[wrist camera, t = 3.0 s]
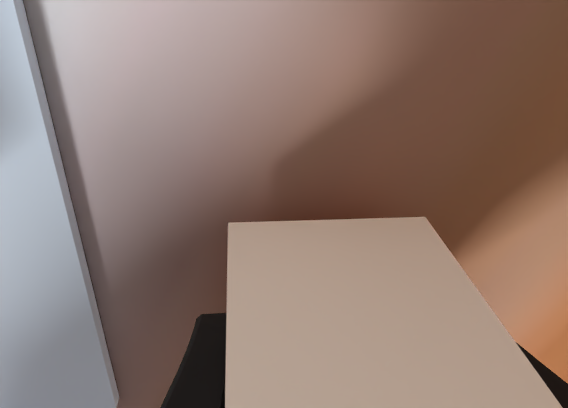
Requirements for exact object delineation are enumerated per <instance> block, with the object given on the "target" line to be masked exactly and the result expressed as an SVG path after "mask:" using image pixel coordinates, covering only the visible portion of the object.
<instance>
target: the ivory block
mask: <svg viewBox="0 0 568 408" xmlns="http://www.w3.org/2000/svg"><path fill="white" fill-rule="evenodd" d="M225 408H563V407H562V406H561V405H560V403H559V402H558V401H557V399H556V398H555V396H554V395H553V394H552V392H551V391H550V389H549V388H548V387H547V385H546V384H545V382H544V381H543V380H542V378H541V377H540V376H539V374H538V373H537V371H536V370H535V369H534V367H533V366H532V364H531V363H530V362H529V360H528V359H527V357H526V356H525V355H524V353H523V352H522V351H521V349H520V348H519V346H518V345H517V344H516V342H515V341H514V339H513V338H512V337H511V335H510V334H509V332H508V331H507V330H506V328H505V327H504V325H503V324H502V323H501V321H500V320H499V319H498V317H497V316H496V314H495V313H494V312H493V310H492V309H491V307H490V306H489V305H488V303H487V302H486V300H485V299H484V298H483V296H482V295H481V294H480V292H479V291H478V289H477V288H476V287H475V285H474V284H473V282H472V281H471V280H470V278H469V277H468V275H467V274H466V273H465V271H464V270H463V269H462V267H461V266H460V264H459V263H458V262H457V260H456V259H455V257H454V256H453V255H452V253H451V252H450V250H449V249H448V248H447V246H446V245H445V243H444V242H443V241H442V239H441V238H440V237H439V235H438V234H437V232H436V231H435V230H434V228H433V227H432V225H431V224H430V223H429V221H428V220H427V218H426V217H401V218H368V219H335V220H301V221H268V222H235V223H228V255H227V314H226V374H225Z"/></svg>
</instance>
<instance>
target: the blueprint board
mask: <svg viewBox="0 0 568 408" xmlns="http://www.w3.org/2000/svg"><path fill="white" fill-rule="evenodd" d="M118 400H119V394H118V390H117V386H116V382H115V378H114V374H113V369H112V365H111V361H110V357H109V353H108V349H107V345H106V341H105V337H104V332H103V328H102V324H101V320H100V316H99V312H98V308H97V304H96V300H95V295H94V291H93V287H92V283H91V279H90V275H89V271H88V267H87V263H86V259H85V254H84V250H83V246H82V242H81V238H80V234H79V230H78V226H77V222H76V217H75V213H74V209H73V205H72V201H71V197H70V193H69V189H68V185H67V180H66V176H65V172H64V168H63V164H62V160H61V156H60V152H59V148H58V143H57V139H56V135H55V131H54V127H53V123H52V119H51V115H50V111H49V106H48V102H47V98H46V94H45V90H44V86H43V82H42V78H41V74H40V69H39V65H38V61H37V57H36V53H35V49H34V45H33V41H32V37H31V32H30V28H29V24H28V20H27V16H26V12H25V8H24V4H23V0H0V408H117V404H118Z"/></svg>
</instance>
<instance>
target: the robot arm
mask: <svg viewBox="0 0 568 408" xmlns="http://www.w3.org/2000/svg"><path fill="white" fill-rule="evenodd" d="M226 314H227V313H217V314H202V315H200V316H199V317H198V318H197V319H196V323H195V327H194V330H193V333H192V336H191V339H190V342H189V345H188V347H187V350H186V352H185V355H184V357H183V360H182V362H181V365H180V367H179V369H178V372H177V374H176V376H175V378H174V380H173V382H172V385H171V387H170V389H169V391H168V393H167V395H166V397H165V399H164V402H163V404H162V406H161V408H225V374H226ZM516 344H517V345H518V346H519V348H520V349H521V351H522V352H523V353H524V355H525V356H526V357H527V359H528V360H529V362H530V363H531V364H532V366H533V367H534V369H535V370H536V371H537V373H538V374H539V376H540V377H541V378H542V380H543V381H544V382H545V384H546V385H547V387H548V388H549V389H550V391H551V392H552V394H553V395H554V396H555V398H556V399H557V401H558V402H559V403H560V405H561V406H562V407H563V408H568V384H567V383H566V382H565V381H563V380H562V379H561V378H560V377H558V376H557V375H556V374H555V373H553V372H552V371H551V370H550V369H548V368H547V367H546V366H545V365H543V364H542V363H541V362H540V361H538V360H537V359H536V358H535V357H533V356H532V355H531V354H530V353H528V352H527V351H526V350H525V349H524V348H522V347H521V346H520V345H519V344H518V343H516Z"/></svg>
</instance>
